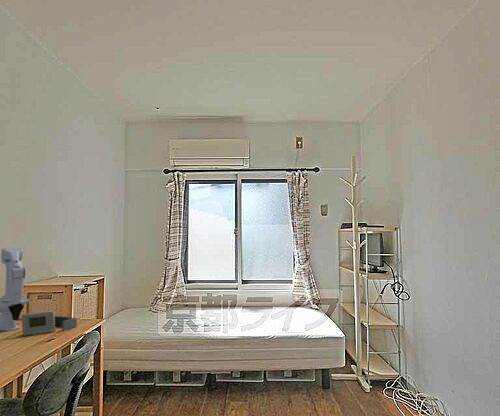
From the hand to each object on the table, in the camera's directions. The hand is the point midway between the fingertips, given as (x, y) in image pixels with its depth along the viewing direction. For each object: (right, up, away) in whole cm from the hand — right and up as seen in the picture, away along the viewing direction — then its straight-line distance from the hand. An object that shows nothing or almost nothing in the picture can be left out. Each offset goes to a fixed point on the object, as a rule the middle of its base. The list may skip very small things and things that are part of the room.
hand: (15, 320), depth 210 cm
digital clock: (+5, -10, +12) cm, 17 cm away
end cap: (+10, -11, +25) cm, 30 cm away
